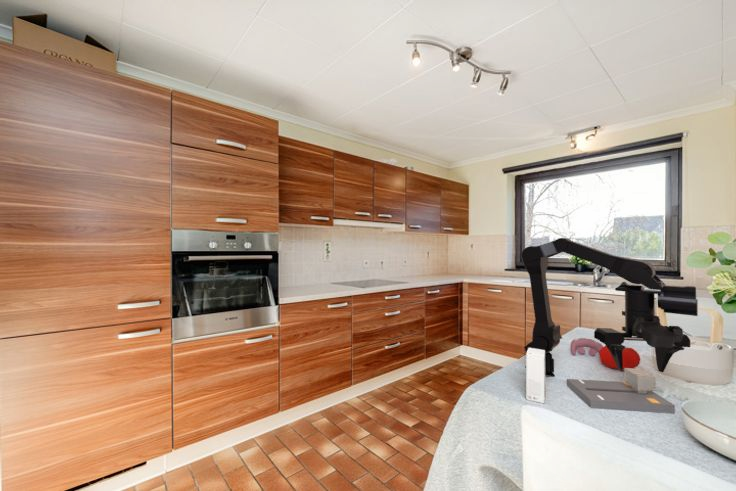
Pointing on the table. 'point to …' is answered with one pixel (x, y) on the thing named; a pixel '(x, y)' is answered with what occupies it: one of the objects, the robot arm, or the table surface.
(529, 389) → the skincare box
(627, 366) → the tomato
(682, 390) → the table surface
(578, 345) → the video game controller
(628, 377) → the fader knob
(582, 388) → the fader board
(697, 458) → the table surface
